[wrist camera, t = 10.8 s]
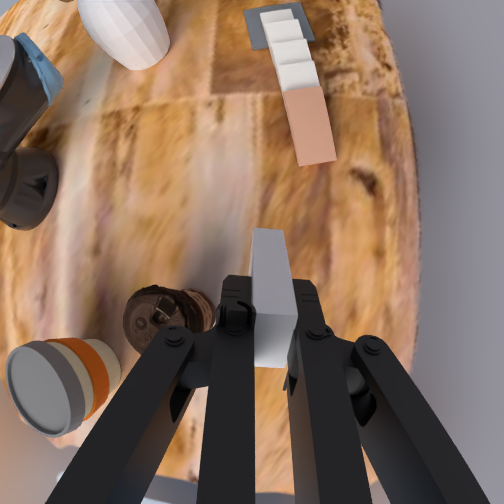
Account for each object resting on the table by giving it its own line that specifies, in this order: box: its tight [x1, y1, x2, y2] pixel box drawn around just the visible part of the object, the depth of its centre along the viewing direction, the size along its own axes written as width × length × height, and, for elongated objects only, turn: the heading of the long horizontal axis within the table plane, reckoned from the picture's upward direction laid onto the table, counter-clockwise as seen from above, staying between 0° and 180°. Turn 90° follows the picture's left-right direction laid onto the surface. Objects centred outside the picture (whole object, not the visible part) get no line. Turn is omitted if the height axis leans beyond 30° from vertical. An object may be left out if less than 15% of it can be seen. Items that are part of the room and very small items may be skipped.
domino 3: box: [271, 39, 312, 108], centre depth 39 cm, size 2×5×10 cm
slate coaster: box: [243, 2, 315, 51], centre depth 43 cm, size 10×10×1 cm
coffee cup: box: [123, 285, 215, 355], centre depth 36 cm, size 9×8×13 cm
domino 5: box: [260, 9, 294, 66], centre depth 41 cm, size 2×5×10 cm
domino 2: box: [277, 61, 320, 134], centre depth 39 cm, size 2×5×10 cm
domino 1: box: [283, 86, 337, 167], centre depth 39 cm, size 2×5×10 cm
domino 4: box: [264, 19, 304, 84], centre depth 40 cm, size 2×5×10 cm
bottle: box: [78, 0, 170, 71], centre depth 33 cm, size 11×11×25 cm
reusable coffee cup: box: [6, 338, 121, 438], centre depth 36 cm, size 12×13×15 cm
